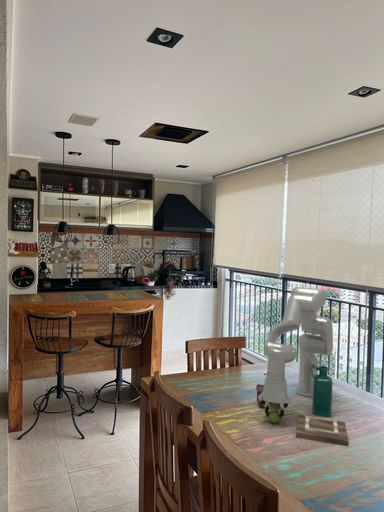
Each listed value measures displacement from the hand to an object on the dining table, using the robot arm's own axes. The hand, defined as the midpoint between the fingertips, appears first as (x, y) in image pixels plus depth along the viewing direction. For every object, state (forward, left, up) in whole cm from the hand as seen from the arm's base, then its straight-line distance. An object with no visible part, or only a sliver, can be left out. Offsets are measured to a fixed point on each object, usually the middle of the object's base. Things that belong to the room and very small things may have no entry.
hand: (274, 415), depth 171 cm
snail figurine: (0, 0, -3) cm, 3 cm away
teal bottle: (-19, +20, -3) cm, 28 cm away
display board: (+1, +20, -3) cm, 20 cm away
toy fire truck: (-17, -4, -3) cm, 18 cm away
